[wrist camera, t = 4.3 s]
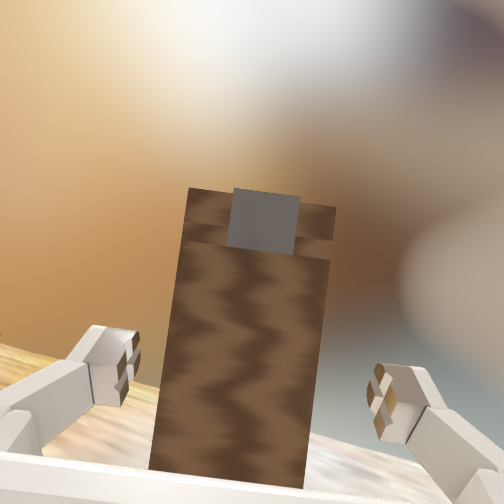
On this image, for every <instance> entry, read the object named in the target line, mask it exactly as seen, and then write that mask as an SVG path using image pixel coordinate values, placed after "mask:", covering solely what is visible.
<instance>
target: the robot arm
mask: <svg viewBox="0 0 504 504" xmlns="http://www.w3.org/2000/svg"><path fill="white" fill-rule="evenodd" d="M139 341H140V336H139V332H138V331H132V330H126V329H120V328H113V327H104V326H98V325H93V326H91V327H90V328H89V329H88V330H87V332H86V333H85V335H84V336H83V337H82V338H81V340H80V341H79V342H78V344H77V345H76V346H75V348H74V349H73V350H72V351H71V353H70V354H69V355H68V357H67V358H66V359H65V360H61V359H60V360H58V361H57V362H55V363H53V364H51V365H49V366H47V367H45V368H43V369H41V370H39V371H37V372H35V373H34V374H32V375H30V376H28V377H26V378H24V379H22V380H20V381H18V382H16V383H14V384H12V385H10V386H9V387H7V388H5V389H3V390H1V391H0V504H417V503H409V502H401V501H393V500H385V499H377V498H369V497H361V496H353V495H345V494H337V493H329V492H321V491H313V490H305V489H297V488H289V487H281V486H273V485H265V484H257V483H249V482H241V481H233V480H225V479H217V478H209V477H201V476H193V475H186V474H178V473H170V472H162V471H154V470H146V469H138V468H130V467H123V466H115V465H107V464H99V463H91V462H83V461H75V460H67V459H59V458H51V457H43V455H42V451H41V449H42V448H43V447H44V446H45V445H46V444H48V443H49V442H50V441H51V440H53V439H54V438H55V437H56V436H58V435H59V434H60V433H61V432H63V431H64V430H65V429H66V428H67V427H69V426H70V425H71V424H72V423H74V422H75V421H76V420H77V419H79V418H80V417H81V416H82V415H83V414H85V413H86V412H87V411H88V410H90V409H91V408H92V407H93V405H101V406H111V407H121V405H122V403H123V401H124V399H125V397H126V395H127V393H128V391H129V385H128V382H130V381H131V380H133V379H134V378H135V375H136V373H137V370H138V367H139V363H140V350H139V348H138V347H137V345H138V343H139ZM374 373H375V375H376V376H375V377H374V378H372V379H371V380H370V381H369V384H368V387H367V401H368V405H369V408H370V410H371V411H372V412H373V413H374V414H375V415H376V416H375V419H374V425H375V428H376V431H377V434H378V438H379V440H380V441H386V442H393V443H399V444H405V445H406V447H407V448H408V450H409V451H410V452H411V453H412V454H413V456H414V457H415V458H416V459H417V460H418V462H419V463H420V464H421V465H422V467H423V468H424V469H425V470H426V471H427V473H428V474H429V475H430V476H431V477H432V479H433V480H434V481H435V482H436V484H437V485H438V486H439V487H440V488H441V490H442V491H443V492H444V493H445V494H446V496H447V497H448V498H449V499H450V501H451V502H452V503H453V504H504V451H502V450H501V449H500V448H499V447H498V446H496V445H495V444H494V443H493V442H492V441H490V440H489V439H488V438H487V437H485V436H484V435H483V434H482V433H481V432H479V431H478V430H477V429H476V428H474V427H473V426H472V425H471V424H469V423H468V422H467V421H466V420H465V419H463V418H462V417H461V416H460V415H458V414H457V413H456V412H455V411H453V410H449V409H448V408H447V406H446V405H445V403H444V401H443V399H442V397H441V395H440V394H439V392H438V390H437V389H436V386H435V385H434V383H433V381H432V379H431V377H430V376H429V374H428V372H427V370H425V369H424V368H421V367H413V366H403V365H395V364H386V363H378V364H377V365H376V367H375V369H374Z"/></svg>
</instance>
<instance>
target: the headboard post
mask: <svg viewBox="0 0 504 504" xmlns="http://www.w3.org/2000/svg"><path fill="white" fill-rule="evenodd" d="M232 199H233V193H226V192H217V191H211V190H203V189H196V188H189V190H188V197H187V204H186V211H185V217H184V224H183V232H182V238H181V245H180V246H181V247H180V252H179V259H178V266H177V273H176V280H175V287H174V294H173V301H172V308H171V315H170V322H169V329H168V336H167V343H166V350H165V358H164V364H163V371H162V379H161V385H160V392H159V398H158V405H157V412H156V419H155V426H154V433H153V440H152V447H151V454H150V461H149V468H148V470H154V471H162V472H170V473H178V474H186V475H193V476H201V477H209V478H217V479H225V480H233V481H241V482H249V483H257V484H265V485H273V486H281V487H289V488H297V489H303V484H304V476H305V467H306V459H307V451H308V442H309V434H310V425H311V417H312V409H313V408H312V407H313V400H314V391H315V383H316V375H317V366H318V358H319V349H320V341H321V332H322V324H323V316H324V307H325V299H326V291H327V282H328V273H329V265H330V257H331V248H332V240H333V232H334V222H335V215H336V207H330V206H323V205H315V204H308V203H300V205H299V212H298V220H297V227H296V235H295V242H294V250H293V255H289V254H281V253H274V252H266V251H258V250H251V249H243V248H236V247H228V246H226V244H227V237H228V229H229V222H230V214H231V206H232Z"/></svg>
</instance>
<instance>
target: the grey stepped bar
mask: <svg viewBox="0 0 504 504" xmlns="http://www.w3.org/2000/svg"><path fill="white" fill-rule="evenodd" d="M299 205H300V197H298V196H291V195H283V194H276V193H268V192H260V191H253V190H246V189H239V188H234V192H233V199H232V206H231V214H230V222H229V229H228V237H227V244H226V246H228V247H236V248H243V249H251V250H258V251H266V252H274V253H281V254H289V255H293V250H294V242H295V235H296V227H297V220H298V212H299Z"/></svg>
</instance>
